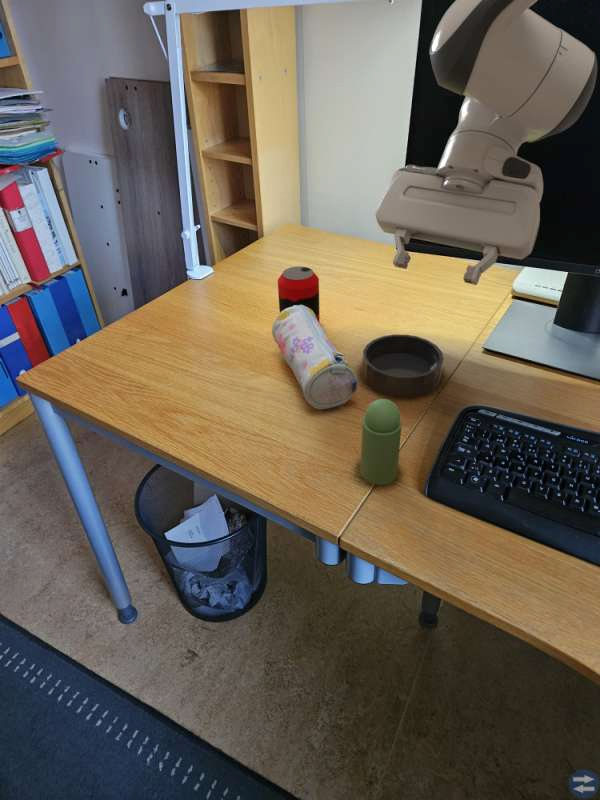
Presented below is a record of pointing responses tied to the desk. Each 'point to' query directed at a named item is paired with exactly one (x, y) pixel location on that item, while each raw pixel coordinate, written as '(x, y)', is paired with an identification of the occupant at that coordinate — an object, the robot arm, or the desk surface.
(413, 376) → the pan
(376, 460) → the green dome-topped cylinder
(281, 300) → the soda can
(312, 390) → the pencil case
